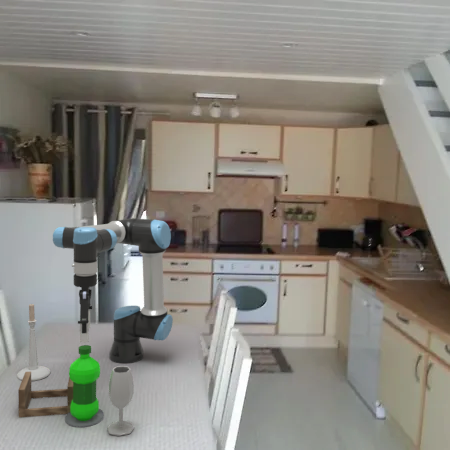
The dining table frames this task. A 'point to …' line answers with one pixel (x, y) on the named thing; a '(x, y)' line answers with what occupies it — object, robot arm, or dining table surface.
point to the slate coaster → (77, 423)
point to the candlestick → (33, 353)
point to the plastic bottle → (84, 385)
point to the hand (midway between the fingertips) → (85, 334)
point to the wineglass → (121, 398)
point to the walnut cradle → (27, 394)
